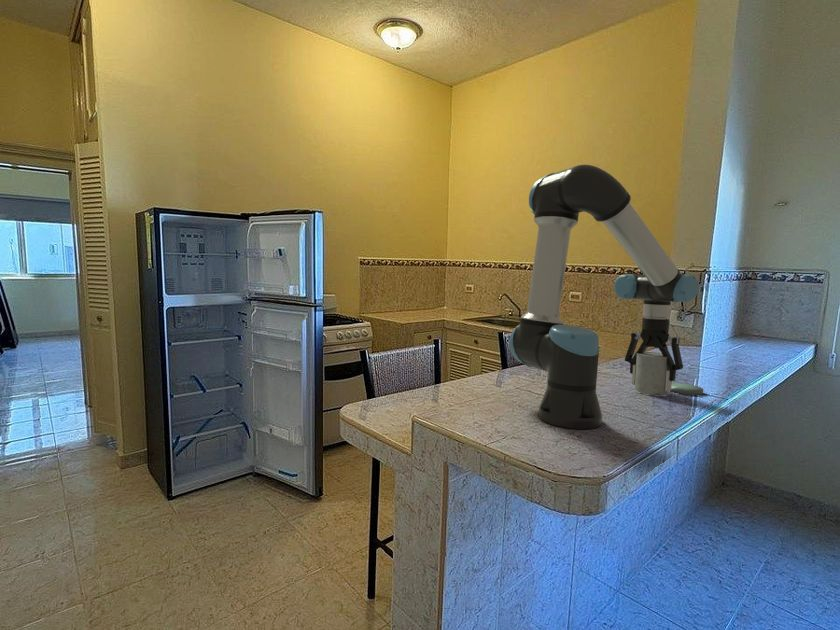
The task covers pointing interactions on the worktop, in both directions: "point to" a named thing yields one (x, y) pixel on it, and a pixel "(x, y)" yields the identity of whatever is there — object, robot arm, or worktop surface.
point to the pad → (686, 389)
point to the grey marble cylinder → (651, 373)
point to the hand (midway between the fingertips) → (650, 387)
